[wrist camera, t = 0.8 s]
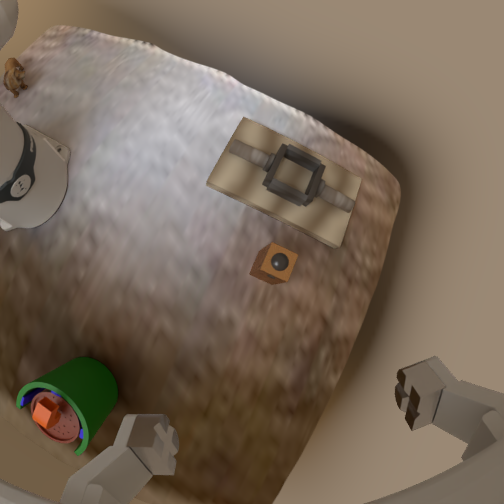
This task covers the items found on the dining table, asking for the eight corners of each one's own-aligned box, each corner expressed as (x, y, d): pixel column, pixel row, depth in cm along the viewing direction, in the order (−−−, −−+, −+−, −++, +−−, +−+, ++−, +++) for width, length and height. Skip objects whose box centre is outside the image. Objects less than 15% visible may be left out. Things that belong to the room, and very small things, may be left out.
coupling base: (206, 185, 48) (207, 173, 43) (241, 122, 51) (246, 107, 46) (334, 248, 50) (348, 243, 46) (356, 182, 53) (370, 173, 49)
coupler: (248, 274, 47) (260, 269, 39) (259, 250, 48) (272, 241, 40) (271, 285, 47) (287, 282, 39) (281, 261, 48) (299, 253, 40)
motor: (59, 393, 38) (-2, 436, 18) (68, 346, 40) (1, 371, 20) (112, 418, 39) (73, 480, 20) (124, 371, 41) (83, 418, 21)
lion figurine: (36, 91, 44) (22, 67, 35) (17, 107, 43) (1, 84, 34) (21, 64, 44) (9, 41, 35) (4, 77, 42) (-9, 56, 34)
